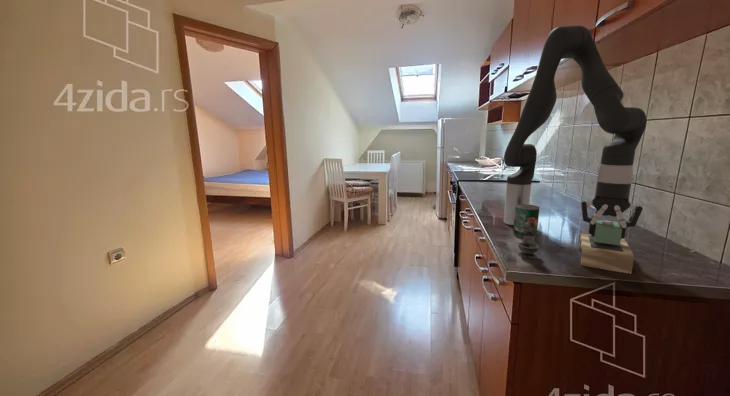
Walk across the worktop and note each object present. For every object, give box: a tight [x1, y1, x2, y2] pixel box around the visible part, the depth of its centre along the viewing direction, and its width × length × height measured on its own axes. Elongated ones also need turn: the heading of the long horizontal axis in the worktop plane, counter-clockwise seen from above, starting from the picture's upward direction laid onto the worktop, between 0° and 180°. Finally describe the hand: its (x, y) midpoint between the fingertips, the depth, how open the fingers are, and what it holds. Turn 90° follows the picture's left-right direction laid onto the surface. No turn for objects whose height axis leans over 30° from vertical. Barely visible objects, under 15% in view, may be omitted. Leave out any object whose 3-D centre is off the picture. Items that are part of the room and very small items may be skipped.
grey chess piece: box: [517, 219, 540, 260], centre depth 92 cm, size 6×6×12 cm
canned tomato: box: [512, 204, 540, 239], centre depth 111 cm, size 8×8×11 cm
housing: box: [594, 219, 622, 245], centre depth 87 cm, size 9×6×5 cm, turn 147°
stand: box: [578, 233, 635, 275], centre depth 89 cm, size 16×11×5 cm
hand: (605, 237), depth 88 cm, fingers closed on housing, 5 cm apart
